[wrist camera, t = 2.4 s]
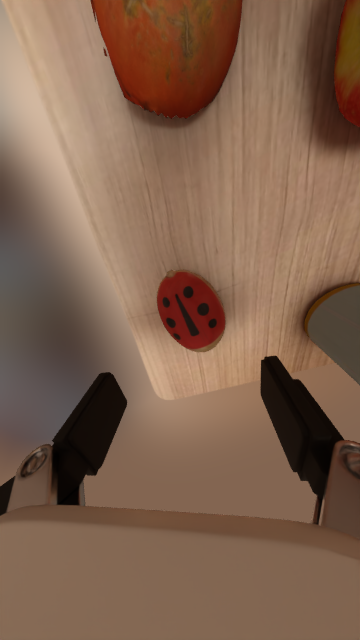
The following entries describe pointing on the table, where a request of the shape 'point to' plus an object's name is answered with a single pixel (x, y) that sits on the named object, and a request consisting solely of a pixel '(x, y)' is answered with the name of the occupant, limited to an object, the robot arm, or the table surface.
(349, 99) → the apple
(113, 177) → the table surface
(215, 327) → the ladybug figurine
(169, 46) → the tomato
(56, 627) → the robot arm
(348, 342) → the bottle
